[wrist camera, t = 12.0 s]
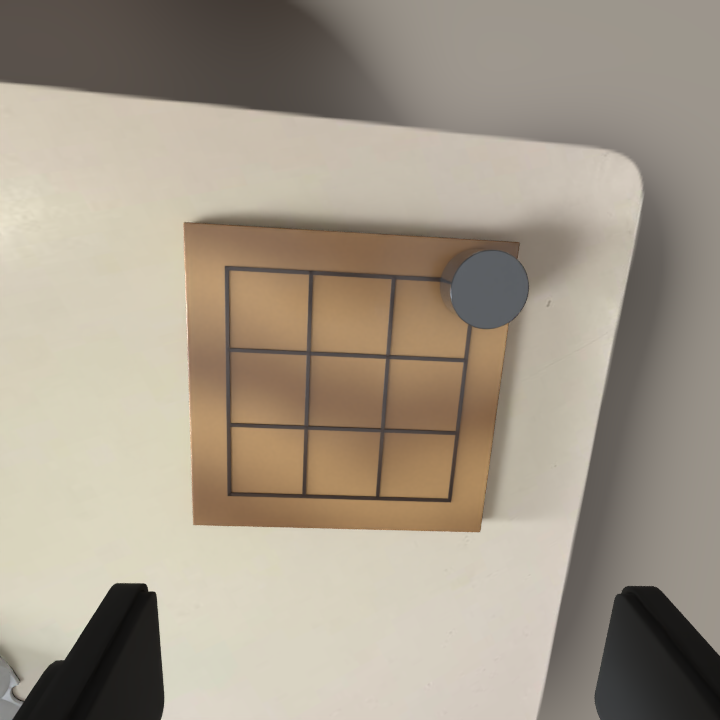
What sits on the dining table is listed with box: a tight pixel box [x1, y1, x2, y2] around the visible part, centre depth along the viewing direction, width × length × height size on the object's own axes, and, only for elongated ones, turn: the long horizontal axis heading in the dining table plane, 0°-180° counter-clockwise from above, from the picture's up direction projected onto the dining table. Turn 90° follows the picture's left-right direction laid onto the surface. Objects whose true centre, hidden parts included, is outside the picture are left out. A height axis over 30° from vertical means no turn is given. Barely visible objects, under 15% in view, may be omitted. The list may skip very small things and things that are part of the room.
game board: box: [183, 222, 520, 532], centre depth 32 cm, size 20×20×1 cm
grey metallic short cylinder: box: [440, 248, 529, 329], centre depth 28 cm, size 4×4×3 cm
